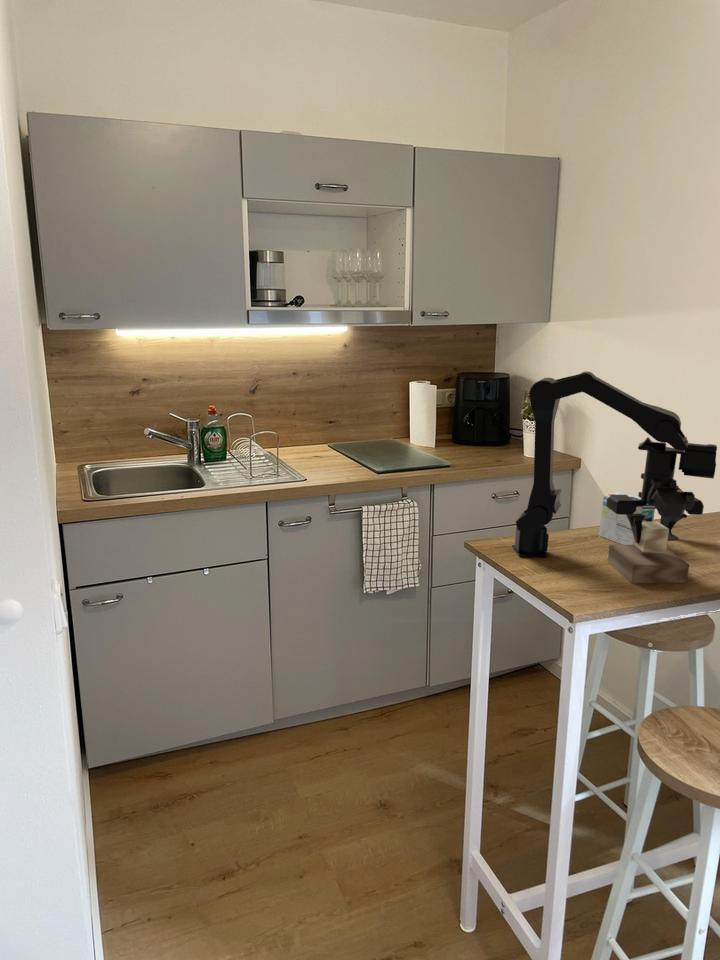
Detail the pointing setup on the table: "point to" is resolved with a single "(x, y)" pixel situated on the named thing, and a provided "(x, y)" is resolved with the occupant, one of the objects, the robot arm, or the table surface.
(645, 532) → the maple cube
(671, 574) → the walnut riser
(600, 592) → the table surface
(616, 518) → the light bulb box
